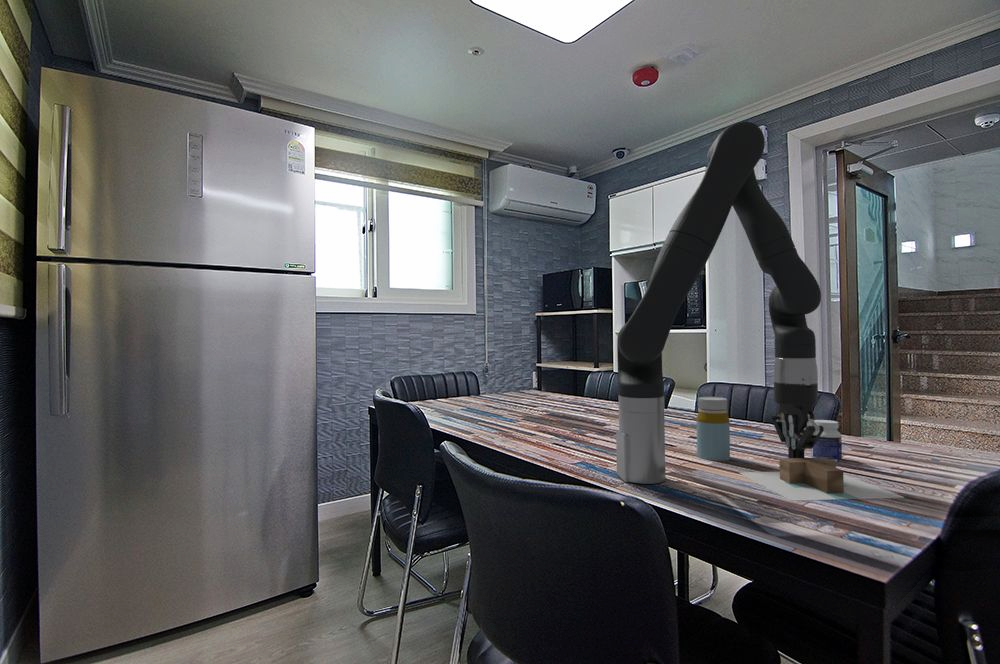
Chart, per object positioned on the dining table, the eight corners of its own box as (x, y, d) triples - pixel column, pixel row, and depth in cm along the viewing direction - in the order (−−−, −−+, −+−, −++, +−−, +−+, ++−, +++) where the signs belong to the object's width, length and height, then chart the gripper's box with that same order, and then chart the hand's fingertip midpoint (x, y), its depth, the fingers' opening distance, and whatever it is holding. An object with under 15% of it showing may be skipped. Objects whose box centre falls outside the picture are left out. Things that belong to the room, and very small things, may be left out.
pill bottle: (847, 469, 107) (846, 423, 108) (818, 468, 109) (817, 423, 109) (834, 462, 113) (834, 419, 113) (807, 461, 114) (806, 418, 114)
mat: (791, 509, 84) (791, 500, 84) (738, 479, 101) (738, 472, 101) (904, 506, 85) (904, 497, 85) (833, 477, 102) (833, 470, 102)
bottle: (730, 461, 116) (729, 397, 116) (730, 468, 109) (729, 400, 109) (698, 458, 118) (697, 395, 119) (696, 465, 112) (695, 399, 112)
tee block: (810, 494, 87) (810, 471, 87) (779, 479, 96) (779, 458, 96) (860, 492, 87) (859, 470, 87) (825, 477, 96) (824, 457, 96)
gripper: (757, 377, 105) (758, 459, 105) (799, 384, 91) (800, 477, 91) (791, 377, 105) (793, 458, 105) (838, 383, 92) (839, 476, 92)
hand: (796, 467), depth 98 cm, fingers closed
